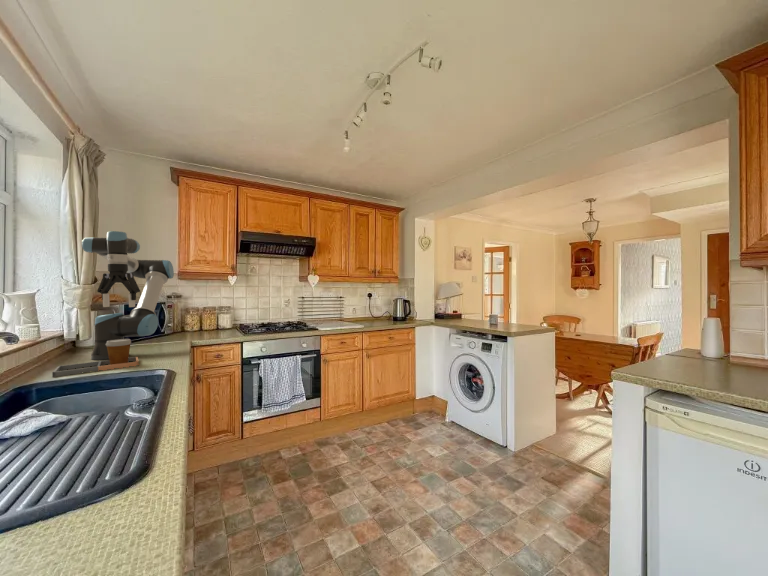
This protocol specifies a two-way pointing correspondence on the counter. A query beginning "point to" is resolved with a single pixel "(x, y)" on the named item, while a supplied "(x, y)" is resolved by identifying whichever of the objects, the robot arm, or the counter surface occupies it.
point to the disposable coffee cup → (118, 350)
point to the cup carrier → (97, 363)
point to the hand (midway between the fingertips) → (119, 307)
